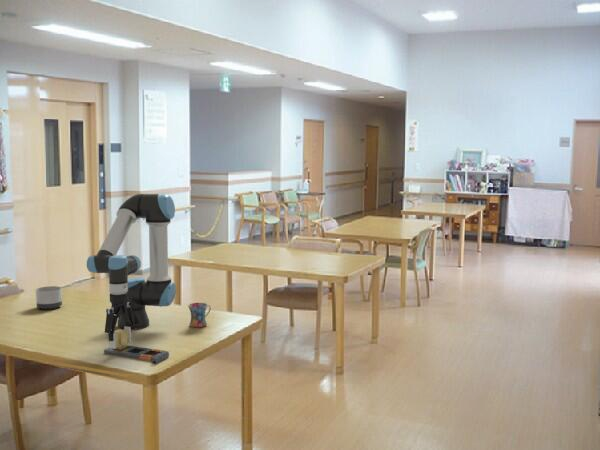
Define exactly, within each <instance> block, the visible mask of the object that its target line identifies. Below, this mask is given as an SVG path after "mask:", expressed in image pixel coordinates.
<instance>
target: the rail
mask: <svg viewBox="0 0 600 450" xmlns="http://www.w3.org/2000/svg"><path fill="white" fill-rule="evenodd" d="M127 347H128V348H127V349H125V350H123V351H119V350H114V349H113V348H110V346H109V347H107V348H105V349H103V354H105V355H112V356H116V357H117V356H119V357H124V358H129V359H130V358H131V359H136V360H139V361H140V360H141V361H147V362H151V364H153V365H157V364H159V363H160V362H163V361H165V360H166V359H168V358H169V357H170V356H169V354H170V353H169V350H168V351H167V350H164V349H163V350H162V349H157V348H147V347H141V346H135V345H128V344H127Z"/></svg>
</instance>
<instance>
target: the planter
mask: <svg viewBox="0 0 600 450" xmlns="http://www.w3.org/2000/svg"><path fill="white" fill-rule="evenodd" d="M62 295H63V294H62V287H61V286H56V285H55V286H54V285H53V286H51V285H50V286H41V287H38V288H36V289H35V300H36V301H35V302H36V307H37V308H38V309H40V308H41V310H44V309H49V310H54V309H53V308H55V309H57V307H58V308H59V307H61V306H62V305H63V297H62Z"/></svg>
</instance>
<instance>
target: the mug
mask: <svg viewBox="0 0 600 450" xmlns="http://www.w3.org/2000/svg"><path fill="white" fill-rule="evenodd" d="M187 307H188V309H189V311H190V322H189V324H188V325H189V326H190V327H192V328H202V327H206V326H207V324H208V323H207V321H206V317H207V316H208V315H209V313H210V312H211V310H212V307H211V306H210V305H208V303H206V302H192V303H189V304H187ZM207 307H208V308H209V309H208V312H207V313H206V310H207Z"/></svg>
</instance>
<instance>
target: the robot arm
mask: <svg viewBox="0 0 600 450" xmlns="http://www.w3.org/2000/svg"><path fill="white" fill-rule="evenodd" d="M175 213H176V206H175V202H174V199H173V198H172V197H171V196H170V195H169V194H164V193H163V194H162V193H137V194H134V195H132V196H130V197H128V198H126V200H125V201H123V203H122V204H121V205H120V207H118V210H117V211H116V218H115V220H114V222H113V224H112V225H111V228H110V229H109V231H108V233H107V234H106V237H105V238H104V240H103V241H102V244H101V246H100V248H99V249H98V251H97V253H96V254H92V255H90V256H88V258H87V260H86V269H87V270H88V272H90V273H93V274H96V273H97V274H108V280H109V281H108V287H109V288H108V292H109V303H111V307H110V308H106V310H105V311H106V317H105V326H104V333H105V334H107V335H108V341H109V347H110V348H113V349H116V333H114V331H116V326H117V328H118V329H121V330H127V343H131V342H132V330H139V329H144V328H147V327H149V326H150V319H149V316H148V314H147V310H146V306H149V307H150V306H151V307H169V306H171V305H172V303H174V300H175V297H176V294H177V293H176V292H177V287H176V284H175V282H174V281H173V282H172V277H171V276H170V275H169V263H168V262H169V260H168V259H169V252H168V251H169V250H168V247H169V246H168V226H169V224H171V220H173V218H175ZM138 219H145V223H146V225H147V226H148V239H149V240H148V242H149V243H148V244H149V245H148V246H149V249H148V250H149V276H147V278H146V280H145V278H144V277H133V278H129V275H131V274H135V273H136V272H138V271H139V270H140V269H141V266H142V262H141V260H140V258H139V257H138V256H136V255H134V254H133V255H128V256H127V255H122V254H121V255H120V254H118V252H119V250H120V248H121V246H122V244H123V242H124V240H125V238H126V236H127V234H128V232H129V230H130V229H131V227H132V225H133V224H135V223H136V221H137V220H138ZM117 254H118V255H117Z"/></svg>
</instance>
